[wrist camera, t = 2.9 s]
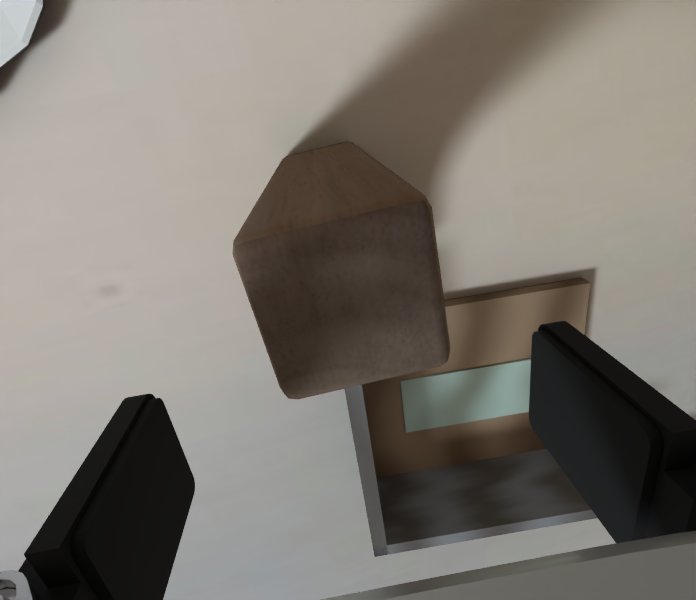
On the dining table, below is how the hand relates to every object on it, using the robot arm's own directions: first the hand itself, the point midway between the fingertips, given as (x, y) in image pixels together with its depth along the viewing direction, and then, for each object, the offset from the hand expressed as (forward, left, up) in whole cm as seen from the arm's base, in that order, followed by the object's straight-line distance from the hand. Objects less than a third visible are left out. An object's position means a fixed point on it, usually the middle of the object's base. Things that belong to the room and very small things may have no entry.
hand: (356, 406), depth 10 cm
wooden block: (0, 0, -18) cm, 18 cm away
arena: (-8, +15, -18) cm, 25 cm away
